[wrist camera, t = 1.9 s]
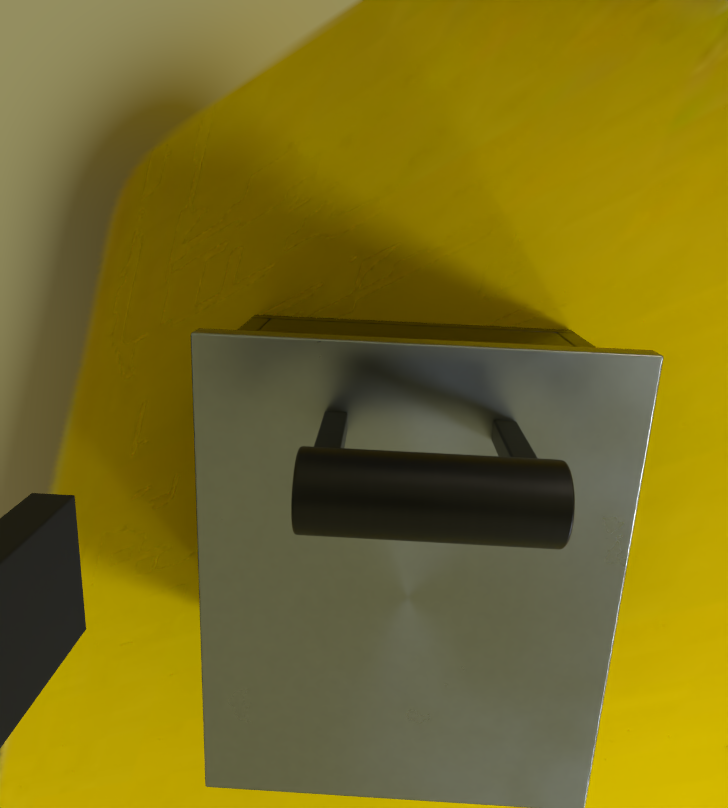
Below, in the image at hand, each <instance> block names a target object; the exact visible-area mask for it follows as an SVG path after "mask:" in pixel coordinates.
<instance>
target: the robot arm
mask: <svg viewBox="0 0 728 808" xmlns="http://www.w3.org/2000/svg"><path fill="white" fill-rule="evenodd" d="M85 630H86V624H85V612H84V601H83V589H82V578H81V566H80V555H79V543H78V531H77V520H76V508H75V497H74V495H57V494H38V493H32V494H30V495H29V496H28V497H27V498H25V499H24V500H23V501H22V502H20V503H19V504H18V505H17V506H15V507H14V508H13V509H12V510H10V511H9V512H8V513H7V514H5V515H4V516H3V517H2V518H0V748H1V746H2V745H3V744H4V742H5V741H6V740H7V738H8V737H9V735H10V734H11V733H12V731H13V730H14V728H15V727H16V726H17V724H18V723H19V721H20V720H21V719H22V717H23V716H24V714H25V713H26V712H27V710H28V709H29V708H30V706H31V705H32V703H33V702H34V701H35V699H36V698H37V696H38V695H39V694H40V692H41V691H42V689H43V688H44V687H45V685H46V684H47V683H48V681H49V680H50V678H51V677H52V676H53V674H54V673H55V671H56V670H57V669H58V667H59V666H60V664H61V663H62V662H63V660H64V659H65V657H66V656H67V655H68V653H69V652H70V651H71V649H72V648H73V646H74V645H75V644H76V642H77V641H78V639H79V638H80V637H81V635H82V634H83V632H84V631H85Z"/></svg>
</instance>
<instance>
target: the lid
mask: <svg viewBox="0 0 728 808" xmlns="http://www.w3.org/2000/svg"><path fill="white" fill-rule="evenodd" d="M191 353H192V384H193V415H194V445H195V476H196V507H197V537H198V568H199V599H200V630H201V660H202V691H203V722H204V753H205V783H206V786H207V787H219V788H234V789H250V790H265V791H281V792H296V793H312V794H327V795H343V796H358V797H374V798H389V799H405V800H420V801H436V802H452V803H467V804H483V805H498V806H514V807H529V808H585V803H586V797H587V791H588V785H589V780H590V774H591V768H592V762H593V757H594V751H595V745H596V740H597V734H598V728H599V722H600V717H601V711H602V705H603V700H604V694H605V688H606V682H607V677H608V671H609V665H610V659H611V654H612V648H613V642H614V637H615V631H616V625H617V619H618V614H619V608H620V602H621V596H622V591H623V585H624V579H625V574H626V568H627V562H628V556H629V551H630V545H631V539H632V533H633V528H634V522H635V516H636V511H637V505H638V499H639V493H640V488H641V482H642V476H643V471H644V465H645V459H646V453H647V448H648V442H649V436H650V430H651V425H652V419H653V413H654V408H655V402H656V396H657V390H658V385H659V379H660V373H661V367H662V362H663V356H662V355H660V354H658V353H656V352H655V351H653V350H635V349H614V348H594V347H573V346H553V345H532V344H511V343H491V342H470V341H450V340H429V339H409V338H388V337H368V336H347V335H326V334H306V333H285V332H265V331H244V330H224V329H203V328H199V329H197V330H195V331H194V332H192V333H191Z"/></svg>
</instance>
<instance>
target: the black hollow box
mask: <svg viewBox="0 0 728 808" xmlns="http://www.w3.org/2000/svg"><path fill="white" fill-rule="evenodd" d="M238 330H244V331H265V332H285V333H306V334H326V335H347V336H368V337H388V338H409V339H429V340H450V341H470V342H491V343H511V344H532V345H553V346H573V347H594V348H596V347H595V346H593V345H592V344H590V343H589V342H587V341H586V340H585V339H583V338H582V337H580V336H579V335H577V334H576V333H575V332H573V331H572V330H562V329H541V328H521V327H500V326H479V325H458V324H437V323H417V322H396V321H375V320H354V319H334V318H313V317H292V316H271V315H254V316H253V317H252V318H251V319H250V320H249V321H247V322H246V323H245V324H244V325H243V326H241V327H240V328H239V329H238Z"/></svg>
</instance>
